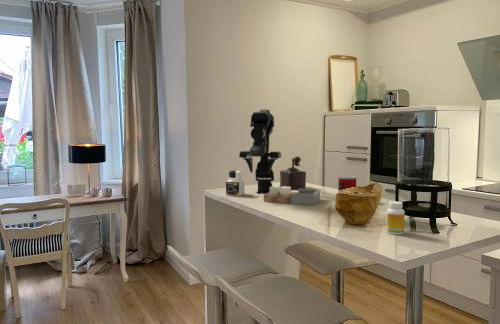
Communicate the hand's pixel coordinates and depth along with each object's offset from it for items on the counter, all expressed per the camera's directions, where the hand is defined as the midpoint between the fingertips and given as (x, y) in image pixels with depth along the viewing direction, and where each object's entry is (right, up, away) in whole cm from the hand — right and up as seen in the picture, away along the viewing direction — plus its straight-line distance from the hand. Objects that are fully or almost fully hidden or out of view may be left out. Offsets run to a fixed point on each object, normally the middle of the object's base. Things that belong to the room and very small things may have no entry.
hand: (260, 173), depth 181 cm
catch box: (+20, -13, -6) cm, 25 cm away
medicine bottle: (-12, -11, +13) cm, 21 cm away
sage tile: (+7, -9, -2) cm, 12 cm away
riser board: (+10, -12, -2) cm, 16 cm away
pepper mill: (+20, -10, +30) cm, 37 cm away
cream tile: (+11, -9, -3) cm, 15 cm away
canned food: (+39, -13, -4) cm, 42 cm away
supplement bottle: (+41, -17, -57) cm, 73 cm away
